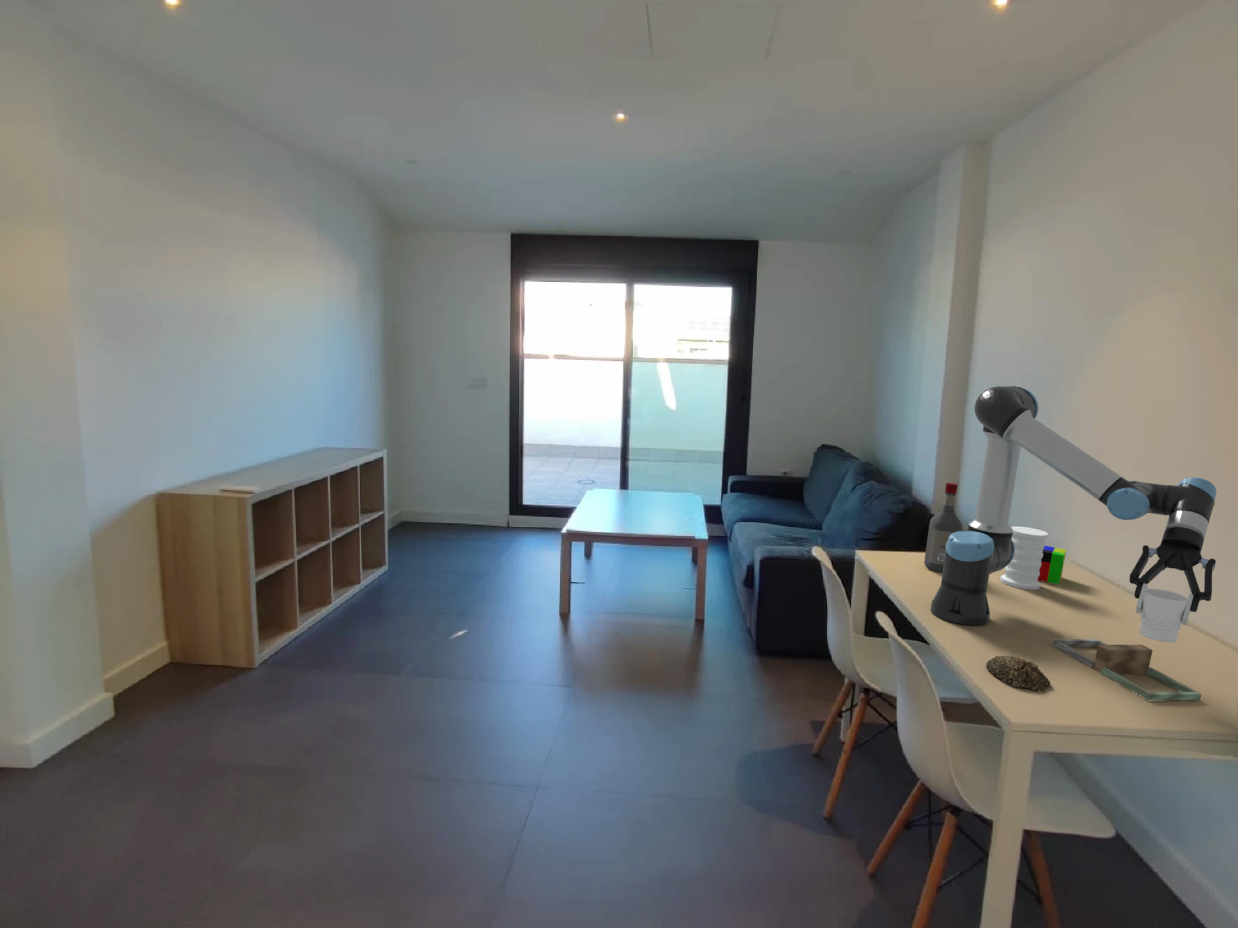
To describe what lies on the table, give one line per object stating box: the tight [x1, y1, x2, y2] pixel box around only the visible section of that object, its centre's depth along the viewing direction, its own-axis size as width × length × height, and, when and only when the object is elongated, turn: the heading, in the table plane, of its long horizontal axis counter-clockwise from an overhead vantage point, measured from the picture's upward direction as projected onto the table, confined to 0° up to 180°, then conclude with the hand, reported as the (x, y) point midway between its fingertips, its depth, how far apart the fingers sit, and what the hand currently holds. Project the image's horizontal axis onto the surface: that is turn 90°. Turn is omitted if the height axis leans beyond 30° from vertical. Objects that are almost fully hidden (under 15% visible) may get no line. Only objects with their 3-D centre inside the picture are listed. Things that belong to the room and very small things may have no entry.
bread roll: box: [985, 655, 1051, 692], centre depth 164 cm, size 13×12×5 cm
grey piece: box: [1051, 638, 1202, 702], centre depth 171 cm, size 13×29×6 cm, turn 8°
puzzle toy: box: [1038, 545, 1067, 585], centre depth 243 cm, size 10×10×10 cm
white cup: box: [1139, 588, 1188, 643], centre depth 161 cm, size 8×8×10 cm
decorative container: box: [999, 526, 1049, 591], centre depth 233 cm, size 12×12×18 cm
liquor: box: [923, 482, 963, 573], centre depth 243 cm, size 9×9×30 cm
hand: (1161, 615), depth 160 cm, fingers closed on white cup, 8 cm apart
